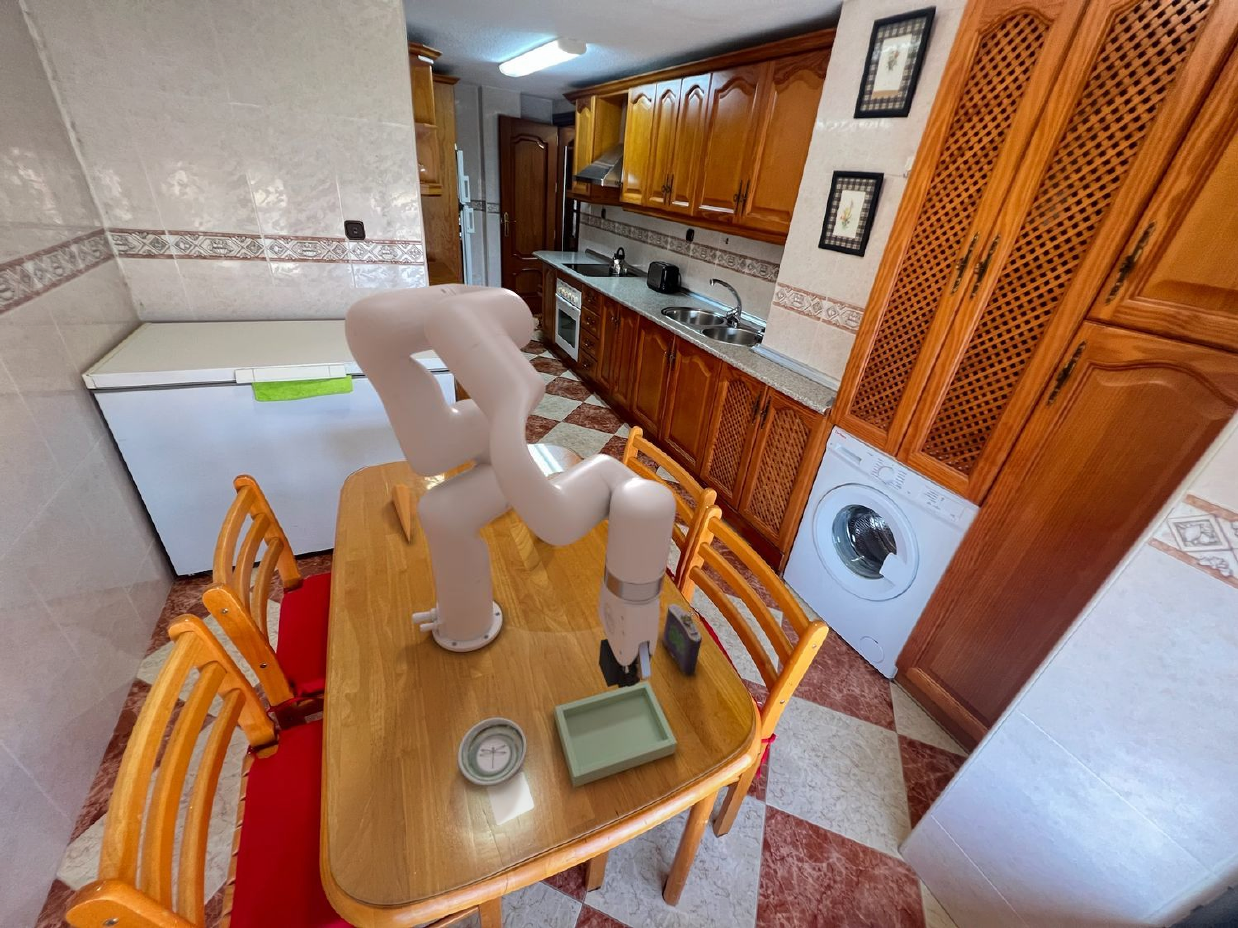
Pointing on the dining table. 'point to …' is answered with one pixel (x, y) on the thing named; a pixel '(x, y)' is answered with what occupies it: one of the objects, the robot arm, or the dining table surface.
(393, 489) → the carrot
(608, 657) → the black rectangular block
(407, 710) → the dining table surface
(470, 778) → the saucer
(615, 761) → the green rectangular tray
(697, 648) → the flask
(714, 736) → the dining table surface
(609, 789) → the dining table surface
